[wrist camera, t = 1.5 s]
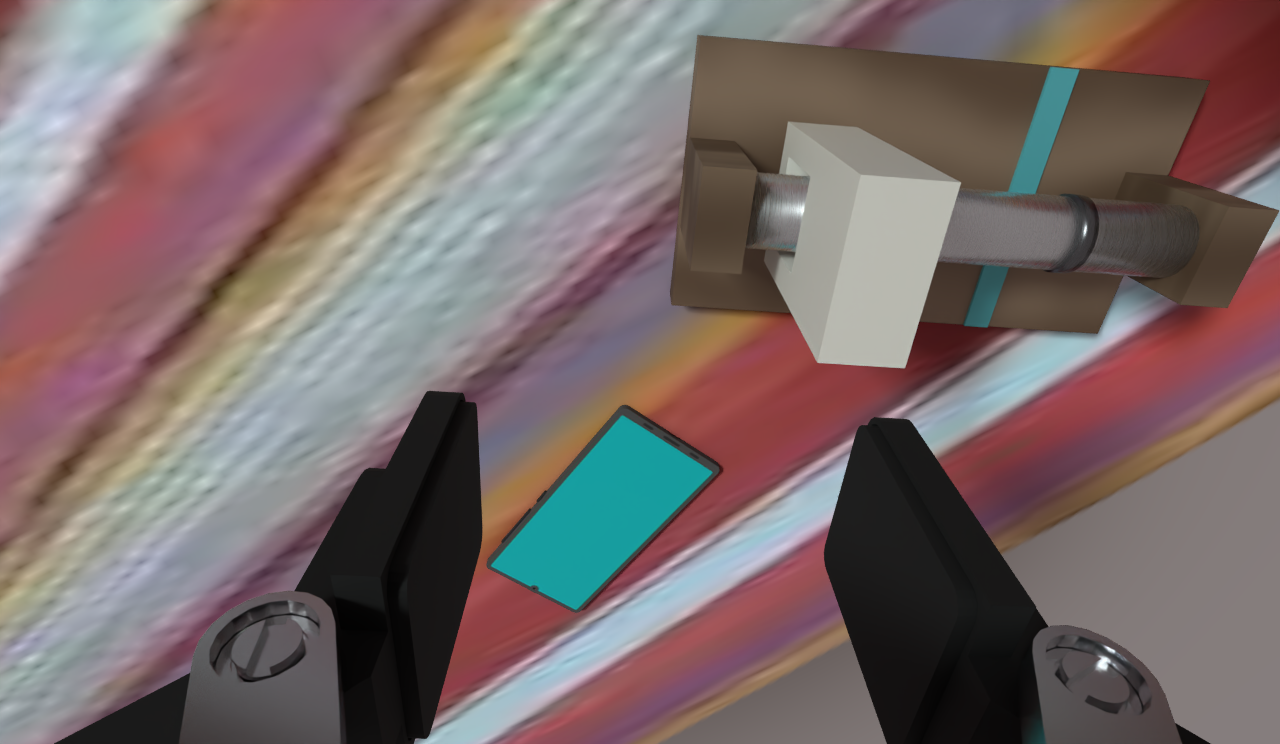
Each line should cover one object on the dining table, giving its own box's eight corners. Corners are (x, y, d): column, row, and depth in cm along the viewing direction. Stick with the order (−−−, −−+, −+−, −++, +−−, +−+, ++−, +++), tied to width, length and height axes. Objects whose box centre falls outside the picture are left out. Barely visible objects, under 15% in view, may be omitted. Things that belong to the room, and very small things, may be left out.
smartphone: (722, 469, 40) (577, 614, 45) (720, 460, 40) (578, 604, 46) (622, 405, 38) (482, 565, 43) (622, 397, 38) (485, 556, 44)
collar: (788, 121, 29) (860, 174, 20) (857, 127, 29) (960, 182, 20) (763, 261, 31) (817, 362, 23) (826, 265, 32) (905, 368, 23)
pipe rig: (697, 35, 29) (717, 43, 22) (1184, 77, 30) (1340, 97, 24) (669, 293, 35) (679, 361, 28) (1080, 321, 36) (1181, 392, 29)
